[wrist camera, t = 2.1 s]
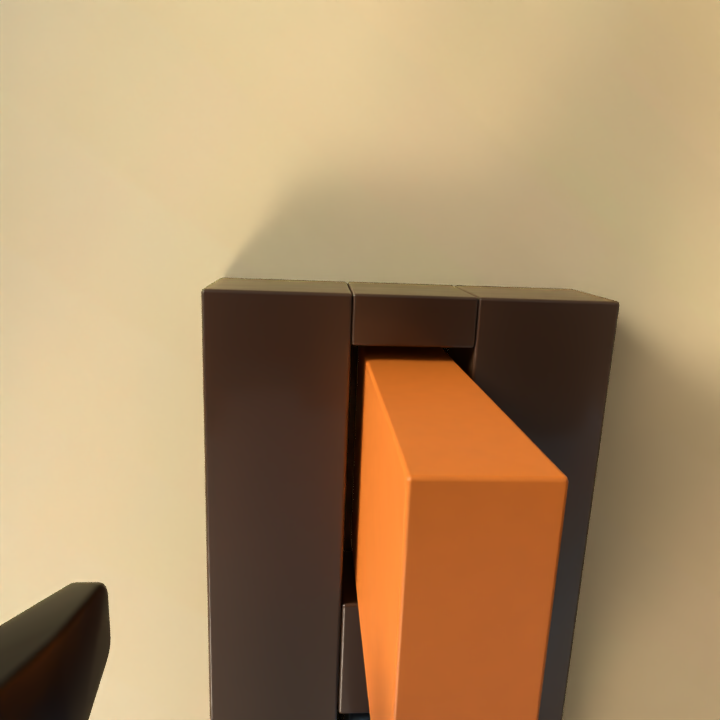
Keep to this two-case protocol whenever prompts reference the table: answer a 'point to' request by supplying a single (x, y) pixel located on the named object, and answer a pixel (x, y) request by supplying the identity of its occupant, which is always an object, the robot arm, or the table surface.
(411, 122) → the table surface
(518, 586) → the block
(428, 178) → the table surface
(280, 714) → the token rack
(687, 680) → the table surface
